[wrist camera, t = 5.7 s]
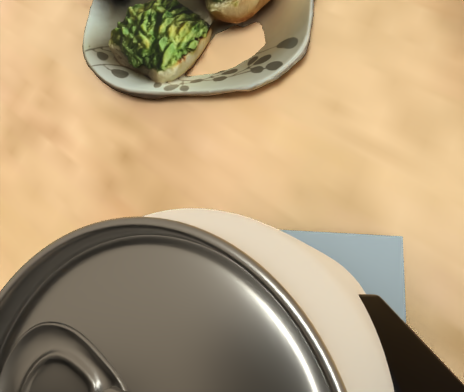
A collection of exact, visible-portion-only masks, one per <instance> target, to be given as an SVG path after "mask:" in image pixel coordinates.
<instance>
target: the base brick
mask: <svg viewBox="0 0 464 392" xmlns="http://www.w3.org/2000/svg"><path fill="white" fill-rule="evenodd" d="M281 231H283V232H285V233H287V234H288V235H290V236H292V237H294V238H296V239H298V240H300V241H302V242H304V243H305V244H307V245H309V246H311V247H313V248H314V249H316V250H318V251H320V252H322V253H323V254H325V255H327V256H328V257H330V258H332V259H333V260H335V261H336V262H338V263H339V264H340V265H342V266H343V267H344V268H345V269H346V270H347V271H348V272H349V273H350V274H351V275H352V276H353V277H354V278H355V279H356V280H357V282H358V283H359V284H360V286H361V287H362V289H363V290H364V292H365V293H366V294H376V295H378V296H380V297H381V298H382V299H383V300H384V301H385V302H386V303H387V304H388V305H389V306H390V307H391V308H392V309H393V310H394V312H395V313H396V314H397V315H398V316H399V317H400V318H401V319H402V320H403V321H404V322H405V323H406V309H405V284H404V260H403V236H384V235H366V234H347V233H329V232H311V231H292V230H281Z"/></svg>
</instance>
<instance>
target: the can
mask: <svg viewBox="0 0 464 392" xmlns="http://www.w3.org/2000/svg"><path fill="white" fill-rule="evenodd" d="M359 294H366V293H365V292H364V290H363V289H362V287H361V286H360V284H359V283H358V282H357V280H356V279H355V278H354V277H353V276H352V275H351V274H350V273H349V272H348V271H347V270H346V269H345V268H344V267H343V266H342V265H340V264H339V263H338V262H336V261H335V260H333V259H332V258H330V257H328V256H327V255H325V254H323V253H322V252H320V251H318V250H316V249H314V248H313V247H311V246H309V245H307V244H305V243H304V242H302V241H300V240H298V239H296V238H294V237H292V236H290V235H288V234H287V233H285V232H283V231H281V230H278V229H276V228H274V227H272V226H270V225H267V224H265V223H262V222H260V221H257V220H255V219H252V218H249V217H246V216H243V215H239V214H235V213H231V212H225V211H220V210H213V209H202V208H182V209H172V210H166V211H161V212H156V213H152V214H149V215H146V216H143V217H123V218H116V219H110V220H105V221H101V222H97V223H93V224H90V225H87V226H85V227H82V228H79V229H77V230H75V231H72V232H70V233H68V234H66V235H64V236H63V237H61V238H59V239H57V240H56V241H54V242H52V243H51V244H49V245H48V246H46V247H45V248H44V249H42V250H41V251H40V252H38V253H37V254H36V255H34V256H33V257H32V258H31V259H30V260H29V261H28V262H26V263H25V264H24V265H23V266H22V267H21V268H20V269H19V270H18V271H17V272H16V273H15V275H14V276H13V277H12V278H11V279H10V280H9V281H8V283H7V284H6V285H5V286H4V287H3V289H2V290H1V291H0V392H395V391H394V387H393V382H392V379H391V375H390V371H389V367H388V364H387V361H386V357H385V354H384V351H383V348H382V345H381V342H380V339H379V337H378V334H377V332H376V329H375V327H374V325H373V322H372V320H371V318H370V316H369V314H368V312H367V310H366V308H365V306H364V304H363V302H362V301H361V299H360V297H359Z"/></svg>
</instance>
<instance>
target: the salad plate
mask: <svg viewBox="0 0 464 392" xmlns="http://www.w3.org/2000/svg"><path fill="white" fill-rule="evenodd" d="M313 8H314V0H93V3H92V6H91V7H90V11H89V17H88V20H87V23H86V27H85V32H84V38H83V54H84V58H85V60H86V62H87V65H88V67H90V68H91V70H92V71H93V72H94V73H95V74H96V76H97V77H98V78H99V79H100V80H102V81H103V82H104V83H105V84H107V85H108V86H110V87H111V88H113V89H115V90H117V91H119V92H122V93H126V94H129V95H132V96H136V97H141V98H148V99H159V98H164V97H168V96H179V95H192V96H197V95H201V96H208V95H217V94H222V93H229V92H235V91H252V90H254V89H257V88H259V87H262V86H264V85H266V84H268V83H270V82H272V81H275V80H277V79H278V78H279V77H281V76H282V75H283V74H284V73H286V72H287V71H288V70H289V69H290V68H292V66H293V65H294V64H296V63H297V62H298V61H299V60H301V59H302V58H303V56H304V55H305V54H306V51H307V48H308V45H309V42H310V30H311V27H312V20H313V16H314V15H313ZM254 22H259V23H260V24H261V25H262V29H263V31H264V34H265V41H266V44H265V46H264V47H263V48H261V49H260V50H259V51H258V52H257V53H256V54H255V55H254V56H252V57H251V58H249V59H248V60H246V61H244V62H242V63H241V64H239V65H237V66H236V67H233V68H231V69H228V70H225V71H220V72H218V73H215V74H205V75H199V76H185V72H186V71H187V70H188V69H189V68H191V67H193V66H194V64H195V63H196V60H197V59H198V58H199V57H200V56H201V54H202V52H203V51H204V49H205V47H206V46H207V44H208V43H209V42H210V41H211V40H212V39H213V37H214V36H215V34H217V33H219V32H222V31H224V30H226V29H228V28H230V27H232V26H235V25H238V26H241V27H246V26H247V25H249V24H251V23H254Z"/></svg>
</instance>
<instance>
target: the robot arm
mask: <svg viewBox="0 0 464 392" xmlns="http://www.w3.org/2000/svg"><path fill="white" fill-rule="evenodd" d="M359 297H360V299H361V301H362V302H363V304H364V306H365V308H366V310H367V312H368V314H369V316H370V318H371V320H372V322H373V325H374V327H375V329H376V332H377V334H378V337H379V339H380V342H381V345H382V348H383V351H384V354H385V357H386V361H387V364H388V367H389V371H390V375H391V379H392V382H393V387H394V391H395V392H464V384H463V383H462V382H461V381H460V380H459V379H458V378H457V377H456V376H455V375H454V374H453V373H452V372H451V371H450V369H449V368H448V367H447V366H446V365H445V364H444V363H443V362H442V361H441V360H440V359H439V358H438V357H437V356H436V355H435V354H434V353H433V352H432V351H431V349H430V348H429V347H428V346H427V345H426V344H425V343H424V342H423V341H422V340H421V339H420V338H419V337H418V336H417V335H416V334H415V333H414V332H413V330H412V329H411V328H410V327H409V326H408V325H407V324H406V323H405V322H404V321H403V320H402V319H401V318H400V317H399V316H398V315H397V314H396V313H395V312H394V310H393V309H392V308H391V307H390V306H389V305H388V304H387V303H386V302H385V301H384V300H383V299H382V298H381V297H380V296H378V295H376V294H359Z"/></svg>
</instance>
